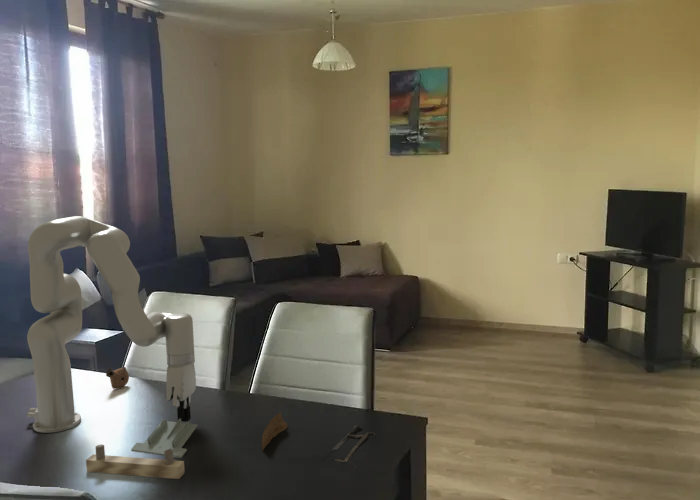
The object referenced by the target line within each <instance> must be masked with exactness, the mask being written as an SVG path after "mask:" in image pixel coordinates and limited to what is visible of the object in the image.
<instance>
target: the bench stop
mask: <svg viewBox="0 0 700 500" xmlns="http://www.w3.org/2000/svg"><path fill="white" fill-rule="evenodd" d="M164 454H165V455H164V459H160V458H149V457H135V456H133V457H132V456H123V455H122V456H121V455H106V452H105V445H104V444H97V445H95V454H94V453H93V454H92V455H90V456H89V457H88V458H86V459H85V465H86V472H87V473H89V472H90V473H99V474H100V473H102V474H113V475H125V476H139V477H149V478H150V477H151V478H160V479H161V478H163V479H174V480H176V479H177V480H179V479H181V477H182V476H183V475H184V474H185V473H186V472H185V461H184V460H175V459H174V458H175V457H173V450H171V449H169V450H166V451H164Z"/></svg>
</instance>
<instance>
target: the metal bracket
mask: <svg viewBox="0 0 700 500" xmlns="http://www.w3.org/2000/svg"><path fill="white" fill-rule="evenodd" d="M197 427H198V424H196V423H195V424H194V423H191V422H190V421H188V422H183V421H181V418H180V419H179V420H178V419H177V422H176V421H170V420H169V421H168V420H167V419H166V418H163V419H162V420H161V421H160V422H159V424H158V425H157V426H156V428H155V429H154V430H153V431H152V432H151V434H150V435H149V436H148V437H147V439H146V440H145V441H144V442H136V443H135V444H134V445H133V447H132V448H131V450H130V451H131V452H133V453H134V452H135V453H140V454H141V453H145V454H152V455H153V454H154V455H160V456H165V454H164V451H166V450H169V449H171V450H173V458H179V459H180V458H183V457H184V455H186V453H187V451H188V449H187V448H183V446H184V445H185V443H186V442H188V440H189V438H190V437H191V435H192V434H193V433H194V431H195V430H196V429H197Z"/></svg>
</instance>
